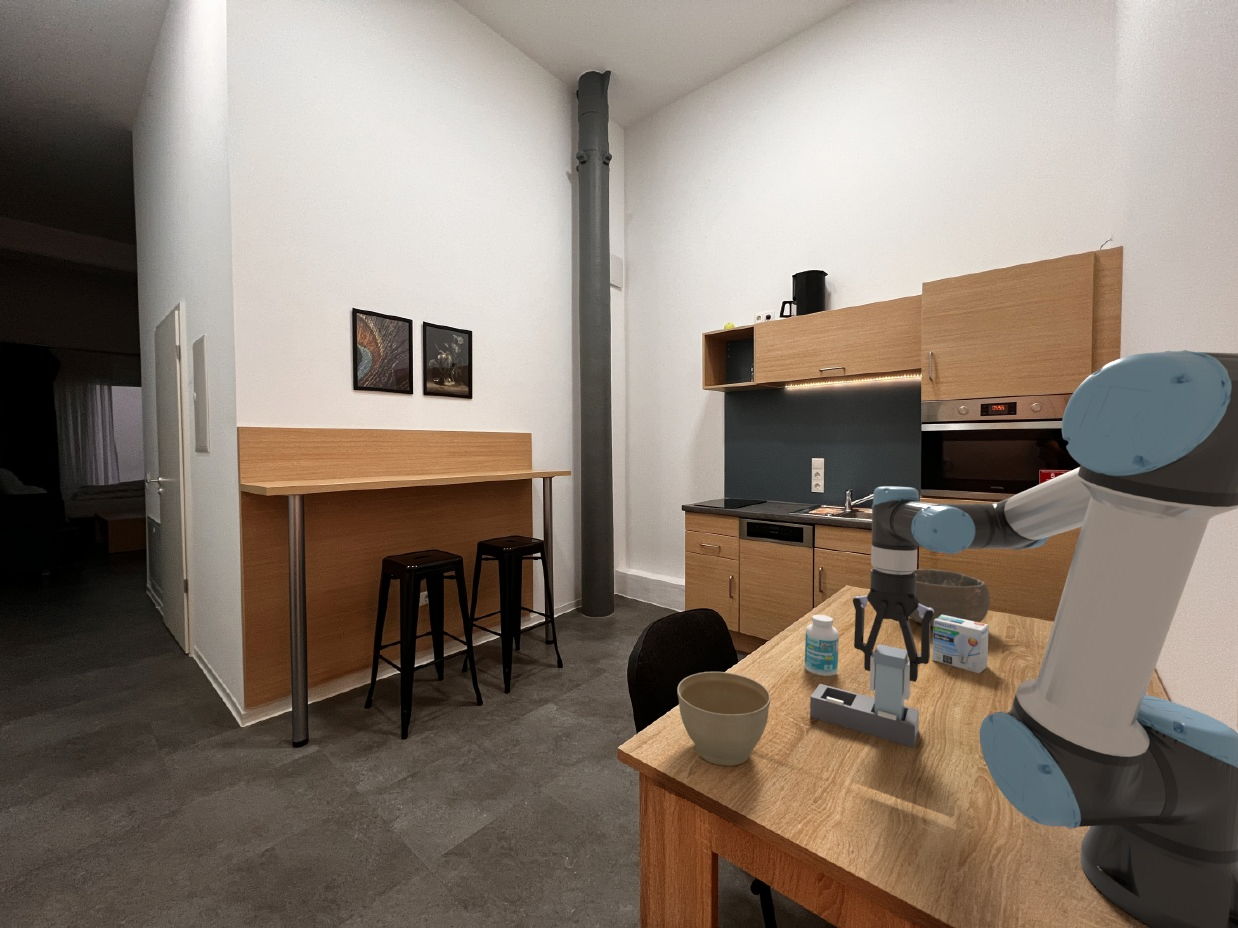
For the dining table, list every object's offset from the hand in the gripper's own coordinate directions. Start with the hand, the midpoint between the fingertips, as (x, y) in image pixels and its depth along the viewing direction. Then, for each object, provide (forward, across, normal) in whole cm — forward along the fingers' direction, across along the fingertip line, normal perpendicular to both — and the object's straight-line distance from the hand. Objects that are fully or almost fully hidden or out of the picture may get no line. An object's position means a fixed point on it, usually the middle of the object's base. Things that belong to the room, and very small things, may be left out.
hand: (889, 691), depth 97 cm
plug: (+5, 0, 0) cm, 5 cm away
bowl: (+9, -4, -79) cm, 79 cm away
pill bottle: (+9, +17, -21) cm, 29 cm away
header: (+8, +4, 0) cm, 10 cm away
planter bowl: (+9, +23, +23) cm, 34 cm away
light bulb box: (+9, -10, -48) cm, 50 cm away
